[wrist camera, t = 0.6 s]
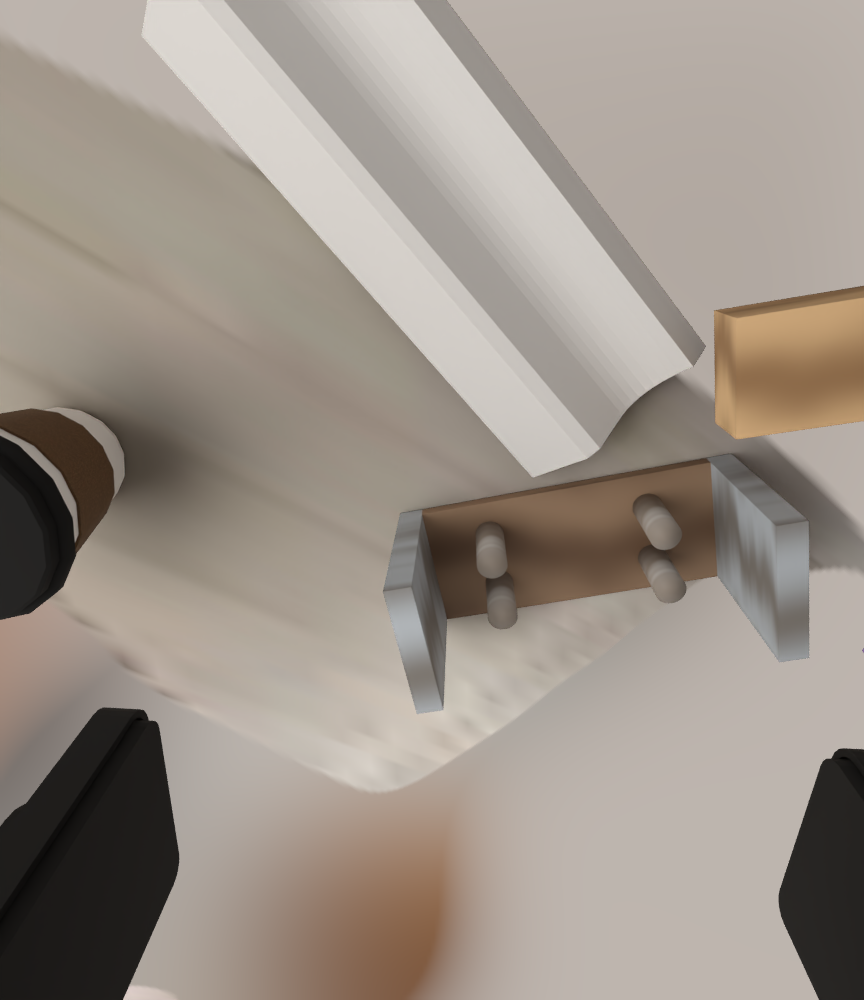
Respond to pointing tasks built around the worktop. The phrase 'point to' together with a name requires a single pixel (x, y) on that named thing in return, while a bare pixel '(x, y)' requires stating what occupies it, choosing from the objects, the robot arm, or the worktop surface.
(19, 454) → the coffee cup
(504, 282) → the crown molding
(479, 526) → the peg frame
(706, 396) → the worktop surface
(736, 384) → the shelf board
